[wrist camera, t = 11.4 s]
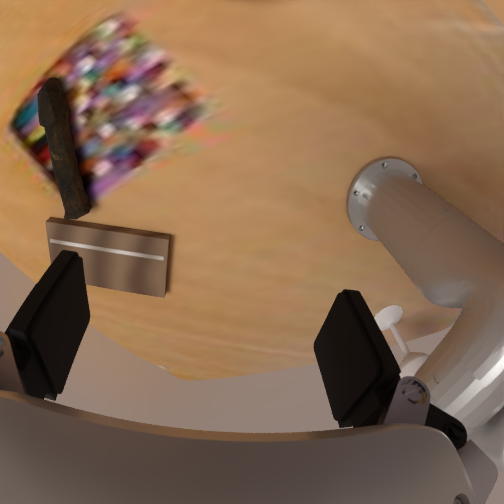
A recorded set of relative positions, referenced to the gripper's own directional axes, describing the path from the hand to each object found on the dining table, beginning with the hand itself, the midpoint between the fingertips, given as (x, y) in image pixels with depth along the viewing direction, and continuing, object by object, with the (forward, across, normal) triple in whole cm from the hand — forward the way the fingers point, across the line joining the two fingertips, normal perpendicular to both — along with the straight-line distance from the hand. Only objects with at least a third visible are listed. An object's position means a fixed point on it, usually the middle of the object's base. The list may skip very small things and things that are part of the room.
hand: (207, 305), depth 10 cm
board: (+28, +14, +18) cm, 36 cm away
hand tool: (+29, +21, +2) cm, 35 cm away
